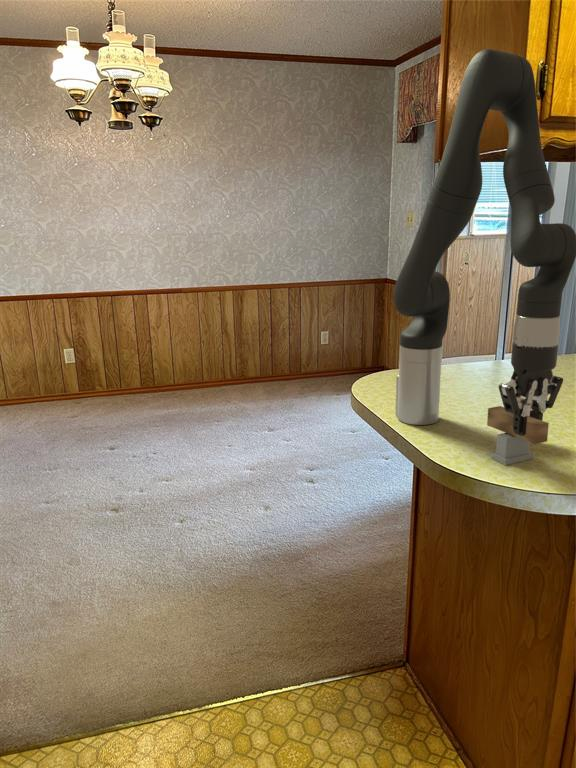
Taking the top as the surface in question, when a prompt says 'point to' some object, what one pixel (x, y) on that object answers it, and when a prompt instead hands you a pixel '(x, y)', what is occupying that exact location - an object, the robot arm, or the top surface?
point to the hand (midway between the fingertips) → (526, 432)
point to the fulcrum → (511, 449)
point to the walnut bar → (504, 422)
